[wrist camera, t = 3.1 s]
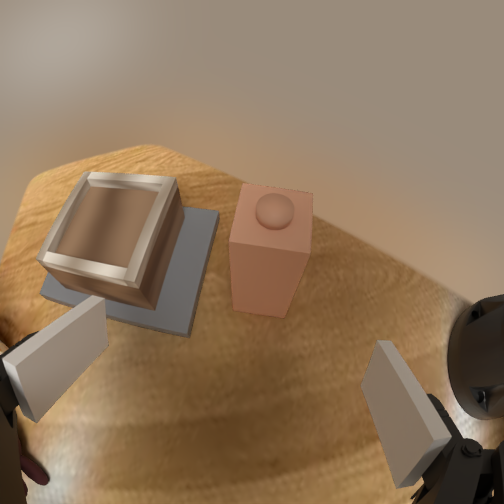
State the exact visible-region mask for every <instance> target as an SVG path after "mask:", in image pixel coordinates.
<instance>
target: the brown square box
mask: <svg viewBox="0 0 504 504" xmlns="http://www.w3.org/2000/svg"><path fill="white" fill-rule="evenodd" d="M184 219H185V216H184V211H183V207H182V203H181V198H180V194H179V189H178V184H177V180H176V177H167V176H155V175H141V174H125V173H105V172H84V173H83V175H82V176H81V178H80V179H79V181H78V182H77V184H76V186H75V187H74V189H73V190H72V192H71V194H70V195H69V197H68V199H67V200H66V202H65V204H64V205H63V207H62V209H61V211H60V212H59V214H58V216H57V218H56V220H55V222H54V223H53V225H52V227H51V229H50V231H49V233H48V235H47V237H46V239H45V241H44V243H43V245H42V247H41V249H40V251H39V253H38V255H37V257H36V260H37V261H38V262H39V263H40V264H41V265H42V266H43V267H44V268H45V269H46V270H47V271H48V272H49V273H50V274H51V275H52V276H53V277H54V278H55V279H56V280H57V281H58V282H59V283H60V284H61V285H63V286H64V287H65V288H66V289H70V290H73V291H77V292H80V293H84V294H88V295H91V296H92V295H94V296H98V297H102V298H105V299H107V300H111V301H115V302H119V303H123V304H127V305H131V306H135V307H140V308H144V309H148V310H153V311H155V309H156V306H157V303H158V299H159V296H160V292H161V289H162V286H163V282H164V279H165V276H166V273H167V270H168V266H169V263H170V260H171V257H172V254H173V251H174V248H175V245H176V242H177V239H178V236H179V233H180V230H181V227H182V225H183V222H184Z"/></svg>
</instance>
